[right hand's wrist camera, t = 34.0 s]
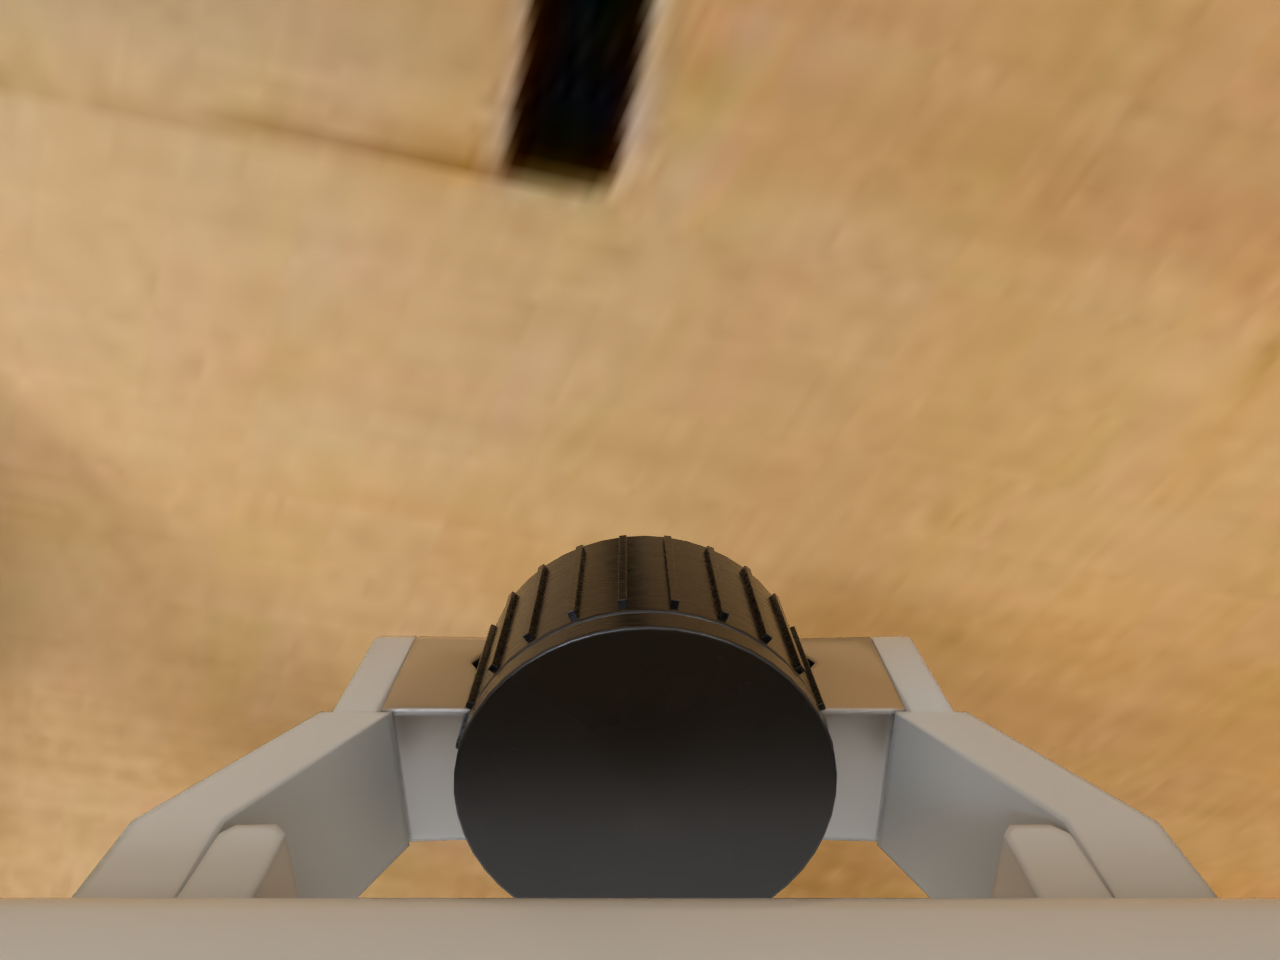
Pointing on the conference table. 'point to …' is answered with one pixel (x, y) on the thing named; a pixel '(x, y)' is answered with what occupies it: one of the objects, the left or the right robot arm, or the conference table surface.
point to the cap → (644, 732)
